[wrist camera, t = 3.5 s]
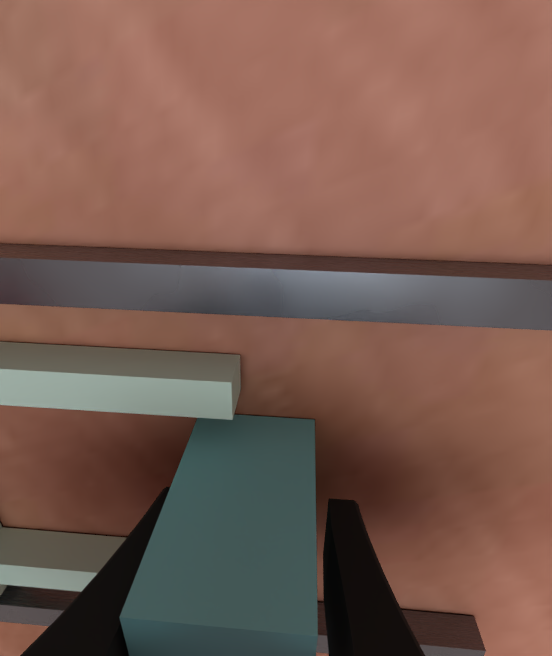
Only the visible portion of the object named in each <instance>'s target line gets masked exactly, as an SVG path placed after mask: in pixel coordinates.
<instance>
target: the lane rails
mask: <svg viewBox="0 0 552 656" xmlns="http://www.w3.org/2000/svg"><path fill="white" fill-rule="evenodd" d="M0 304H19V305H40V306H60V307H81V308H101V309H122V310H143V311H163V312H184V313H204V314H225V315H245V316H266V317H286V318H307V319H328V320H348V321H369V322H389V323H410V324H430V325H451V326H472V327H492V328H513V329H533V330H552V265H531V264H506V263H480V262H455V261H429V260H404V259H379V258H353V257H328V256H302V255H277V254H251V253H226V252H201V251H175V250H150V249H124V248H99V247H74V246H48V245H23V244H0ZM80 593H81V592H80V591H69V590H58V589H47V588H36V587H25V586H14V585H7V587H6V588H5V590H4V591H3V593H2V594H1V596H0V621H1V622H12V623H22V624H32V625H42V626H50V625H51V624H52V623H53V622H54V621H55V620H56V619H57V618H58V617H59V616H60V615H61V614H62V613H63V611H64V610H65V609H66V608H67V607H68V606H69V605H70V604H71V603H72V602H73V600H74V599H75V598H76V597H77V596H78V595H79V594H80ZM402 612H403V614H404V616H405V618H406V620H407V622H408V624H409V626H410V628H411V630H412V632H413V634H414V636H415V637H416V639H417V641H418V643H419V645H420V647H421V649H422V651H423V652H424V654H425V656H484V654H485V651H486V650H485V647H484V644H483V641H482V638H481V635H480V632H479V629H478V626H477V623H476V620H475V617H474V616H465V615H454V614H443V613H432V612H421V611H410V610H402ZM317 617H318V639H317V648H316V652H319V653H329V651H328V641H327V630H326V619H325V609H324V603H321V602H317Z"/></svg>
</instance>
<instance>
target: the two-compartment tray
mask: <svg viewBox="0 0 552 656" xmlns="http://www.w3.org/2000/svg"><path fill="white" fill-rule="evenodd" d="M240 391H241V374H240V355H236V354H217V353H199V352H181V351H162V350H144V349H126V348H107V347H89V346H71V345H52V344H34V343H16V342H0V405H9V406H25V407H41V408H56V409H72V410H87V411H103V412H118V413H134V414H149V415H165V416H181V417H196V418H197V421H196V423H195V426H194V428H193V431H192V433H191V436H190V438H189V441H188V443H187V446H186V449H185V451H184V454H183V456H182V459H181V461H180V464H179V466H178V469H177V472H176V474H175V477H174V479H173V482H172V484H171V487H170V489H169V492H168V495H167V497H166V500H165V502H164V505H163V507H162V510H161V512H160V515H159V518H158V520H157V523H156V525H155V528H154V530H153V533H152V535H151V538H150V541H149V543H148V546H147V548H146V551H145V553H144V556H143V558H142V561H141V563H140V566H139V569H138V571H137V574H136V576H135V579H134V581H133V584H132V586H131V589H130V592H129V594H128V597H127V599H126V602H125V604H124V607H123V609H122V612H121V615H120V617H119V618H120V622H121V626H122V629H123V633H124V637H125V641H126V645H127V649H128V653H129V656H316V648H317V639H318V617H317V545H316V472H315V420H313V419H297V418H282V417H266V416H250V415H234V413H235V409H236V406H237V402H238V398H239V394H240ZM125 539H126V538H125V537H113V536H101V535H89V534H77V533H65V532H53V531H41V530H29V529H17V528H5V527H2V525H1V523H0V596H1V594H2V593H3V591H4V590H5V588H6V587H7V585H14V586H25V587H36V588H47V589H58V590H69V591H80V592H81V591H82V590H83V589H84V588H85V587H86V586H87V585H88V584H89V582H90V581H91V580H92V579H93V578H94V577H95V576H96V575H97V573H98V572H99V571H100V570H101V569H102V568H103V566H104V565H105V564H106V563H107V561H108V560H109V559H110V558H111V557H112V555H113V554H114V553H115V552H116V550H117V549H118V548H119V547H120V546H121V544H122V543H123V542H124V541H125Z"/></svg>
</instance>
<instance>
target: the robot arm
mask: <svg viewBox="0 0 552 656" xmlns="http://www.w3.org/2000/svg"><path fill="white" fill-rule="evenodd" d="M169 489H170V487H166V488H165V489H163V490H162V492H161V493H160V494H159V496H158V497H157V499H156V500H155V501H154V503H153V504H152V505H151V507H150V508H149V510H148V511H147V512H146V514H145V515H144V516H143V518H142V519H141V520H140V522H139V523H138V524H137V525H136V527H135V528H134V529H133V531H132V532H131V533H130V534H129V536H128V537H127V538H126V539H125V541H124V542H123V543H122V544H121V546H120V547H119V548H118V549H117V550H116V552H115V553H114V554H113V555H112V557H111V558H110V559H109V560H108V561H107V563H106V564H105V565H104V566H103V568H102V569H101V570H100V571H99V572H98V573H97V575H96V576H95V577H94V578H93V579H92V580H91V581H90V582H89V584H88V585H87V586H86V587H85V588H84V589H83V590H82V591H81V593H80V594H79V595H78V596H77V597H76V598H75V599H74V600H73V602H72V603H71V604H70V605H69V606H68V607H67V608H66V609H65V610H64V611H63V613H62V614H61V615H60V616H59V617H58V618H57V619H56V620H55V621H54V622H53V623H52V624H51V625H50V626H49V627H48V628H47V629H46V630H45V631H44V632H43V633H42V634H41V635H40V636H39V637H38V638H37V639H36V640H35V641H34V642H33V643H32V644H31V645H30V646H29V647H28V648H27V649H26V650H25V651H24V652H23V653H22V654H21V655H20V656H129V653H128V649H127V645H126V641H125V637H124V633H123V629H122V626H121V622H120V618H119V617H120V615H121V612H122V609H123V607H124V604H125V602H126V599H127V597H128V594H129V592H130V589H131V586H132V584H133V581H134V579H135V576H136V574H137V571H138V569H139V566H140V563H141V561H142V558H143V556H144V553H145V551H146V548H147V546H148V543H149V541H150V538H151V535H152V533H153V530H154V528H155V525H156V523H157V520H158V518H159V515H160V512H161V510H162V507H163V505H164V502H165V500H166V497H167V495H168V492H169ZM323 582H324V609H325V619H326V630H327V641H328V651H329V656H425V654H424V652H423V651H422V649H421V647H420V645H419V643H418V641H417V639H416V637H415V636H414V634H413V632H412V630H411V628H410V626H409V624H408V622H407V620H406V618H405V616H404V614H403V612H402V610H401V608H400V606H399V604H398V602H397V600H396V598H395V596H394V594H393V592H392V589H391V587H390V585H389V583H388V581H387V579H386V576H385V574H384V572H383V570H382V568H381V565H380V563H379V561H378V558H377V556H376V554H375V551H374V549H373V546H372V544H371V541H370V539H369V536H368V533H367V531H366V528H365V525H364V522H363V519H362V516H361V513H360V510H359V506H358V504H357V503H356V502H355V501H354V500H341V499H329V502H328V512H327V522H326V532H325V542H324V552H323Z"/></svg>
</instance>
